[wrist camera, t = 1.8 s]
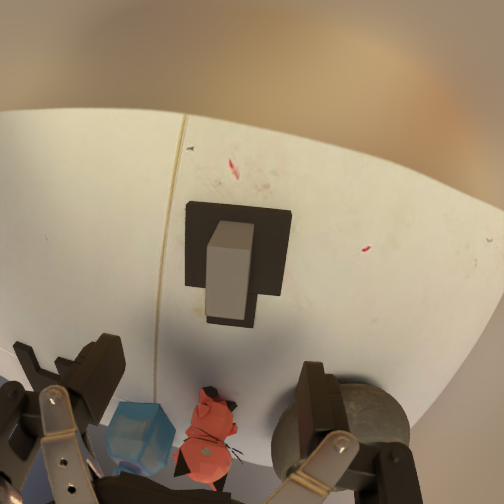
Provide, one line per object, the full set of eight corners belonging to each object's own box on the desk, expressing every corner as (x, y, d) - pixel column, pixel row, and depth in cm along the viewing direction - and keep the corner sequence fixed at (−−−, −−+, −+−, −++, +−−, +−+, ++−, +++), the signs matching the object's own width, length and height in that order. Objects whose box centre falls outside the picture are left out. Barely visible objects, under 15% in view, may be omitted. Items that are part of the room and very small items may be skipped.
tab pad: (188, 313, 27) (170, 359, 21) (189, 200, 23) (163, 225, 17) (274, 322, 27) (275, 372, 21) (291, 210, 23) (299, 239, 17)
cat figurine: (255, 406, 32) (250, 494, 21) (215, 423, 34) (201, 502, 23) (212, 374, 30) (193, 469, 19) (173, 395, 32) (148, 478, 21)
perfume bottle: (138, 427, 36) (115, 492, 25) (119, 401, 34) (89, 471, 23) (175, 430, 36) (157, 501, 25) (159, 404, 33) (133, 481, 22)
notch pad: (41, 394, 37) (38, 399, 35) (16, 340, 32) (12, 345, 31) (99, 416, 36) (96, 422, 35) (77, 362, 32) (73, 368, 31)
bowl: (373, 429, 34) (387, 487, 25) (267, 435, 35) (266, 498, 26) (409, 353, 28) (441, 421, 19) (276, 358, 29) (276, 440, 20)
